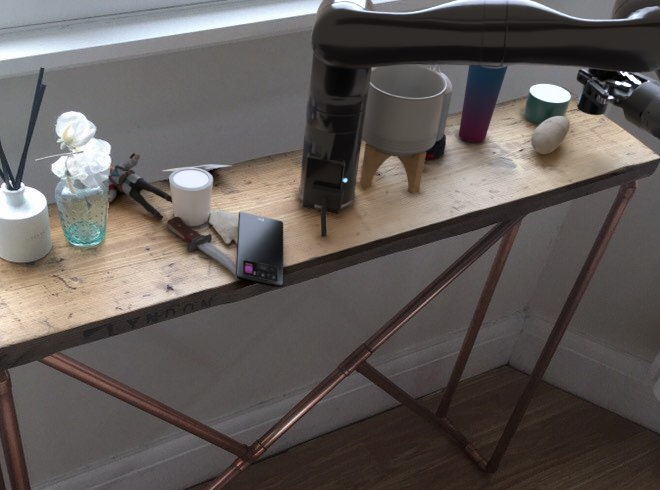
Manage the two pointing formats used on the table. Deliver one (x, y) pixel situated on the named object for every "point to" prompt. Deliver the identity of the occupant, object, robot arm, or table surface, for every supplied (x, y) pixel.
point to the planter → (401, 119)
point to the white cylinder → (191, 195)
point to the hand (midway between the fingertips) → (591, 71)
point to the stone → (550, 134)
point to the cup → (480, 101)
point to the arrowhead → (225, 225)
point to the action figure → (133, 185)
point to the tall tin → (585, 102)
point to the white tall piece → (441, 122)
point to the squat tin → (546, 103)
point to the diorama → (200, 167)
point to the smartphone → (260, 250)
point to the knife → (199, 242)
